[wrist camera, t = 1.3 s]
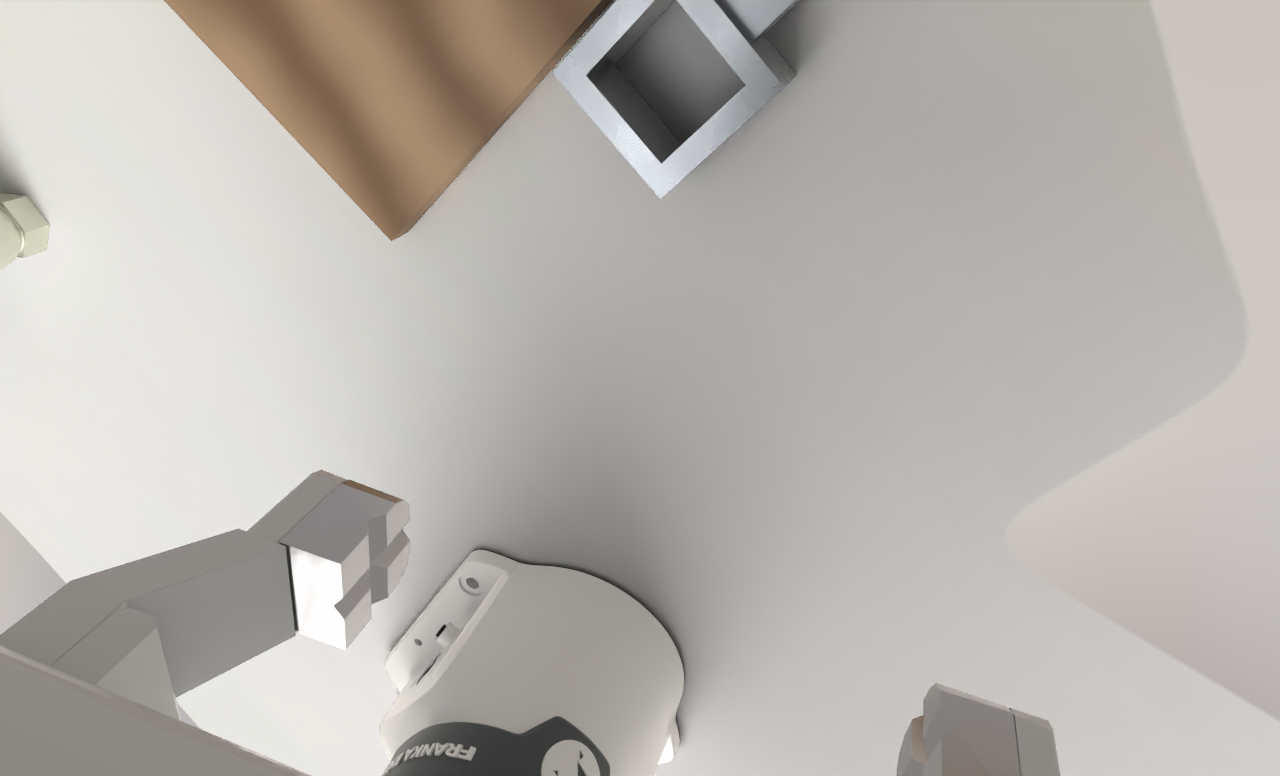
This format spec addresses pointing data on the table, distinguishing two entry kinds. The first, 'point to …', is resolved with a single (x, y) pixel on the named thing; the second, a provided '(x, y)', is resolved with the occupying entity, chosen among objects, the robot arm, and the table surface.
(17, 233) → the valve
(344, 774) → the table surface
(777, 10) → the square loop paddle
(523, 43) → the base
